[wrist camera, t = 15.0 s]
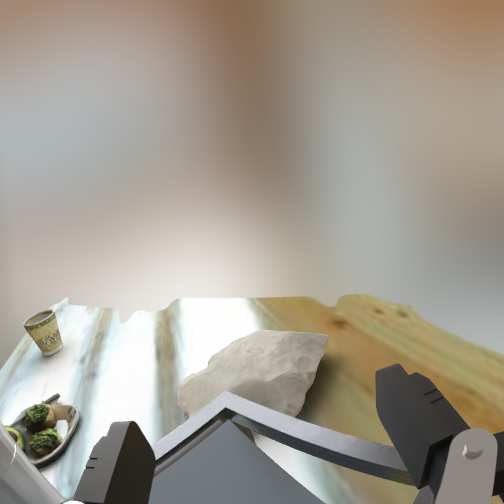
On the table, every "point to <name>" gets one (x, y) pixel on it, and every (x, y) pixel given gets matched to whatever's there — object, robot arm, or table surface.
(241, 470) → the trapdoor
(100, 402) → the table surface
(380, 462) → the trapdoor frame
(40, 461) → the salad plate
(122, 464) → the robot arm
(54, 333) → the ceramic cup
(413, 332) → the table surface
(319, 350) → the rock
